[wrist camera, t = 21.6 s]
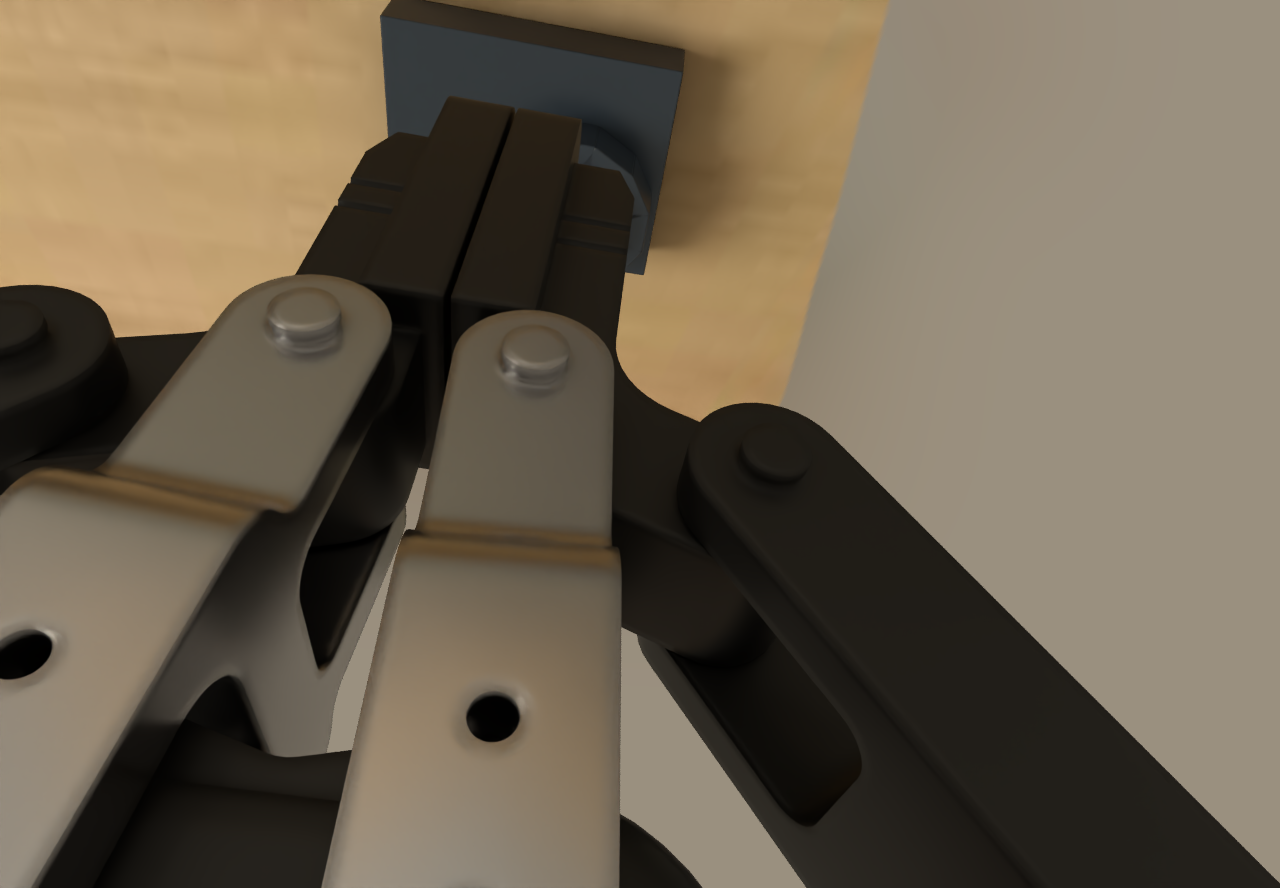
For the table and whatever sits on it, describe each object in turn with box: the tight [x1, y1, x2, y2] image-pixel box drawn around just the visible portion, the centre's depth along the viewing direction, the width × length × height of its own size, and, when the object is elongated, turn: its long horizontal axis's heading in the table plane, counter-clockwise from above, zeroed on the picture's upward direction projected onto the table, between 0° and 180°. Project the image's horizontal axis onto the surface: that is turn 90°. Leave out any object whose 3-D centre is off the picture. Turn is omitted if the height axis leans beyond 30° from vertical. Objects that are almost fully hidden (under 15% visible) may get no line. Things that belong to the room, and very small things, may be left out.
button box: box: [380, 0, 685, 275], centre depth 37 cm, size 12×10×4 cm
